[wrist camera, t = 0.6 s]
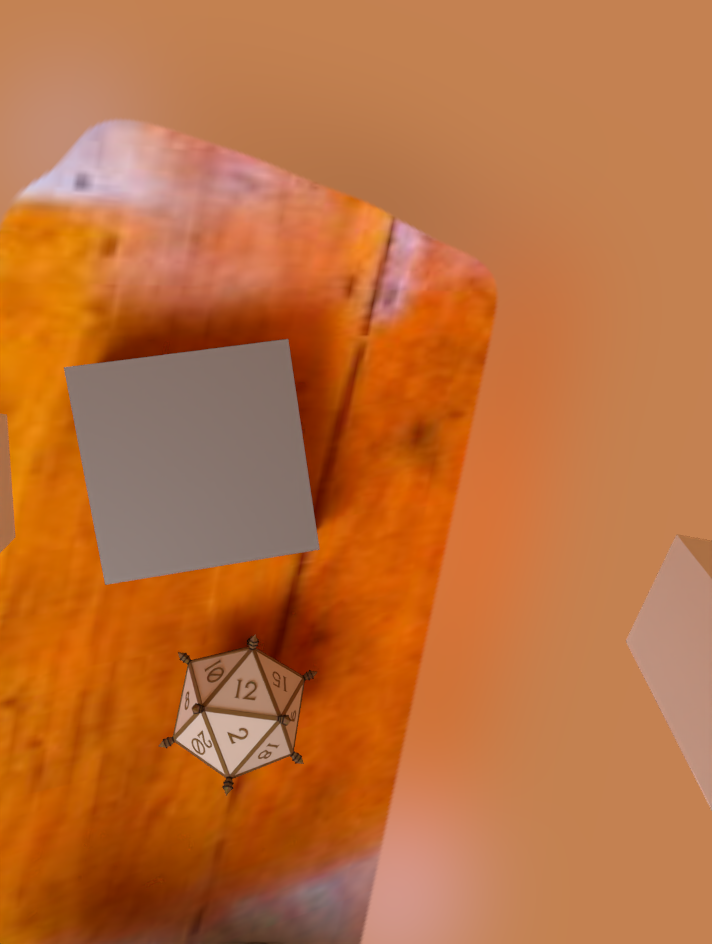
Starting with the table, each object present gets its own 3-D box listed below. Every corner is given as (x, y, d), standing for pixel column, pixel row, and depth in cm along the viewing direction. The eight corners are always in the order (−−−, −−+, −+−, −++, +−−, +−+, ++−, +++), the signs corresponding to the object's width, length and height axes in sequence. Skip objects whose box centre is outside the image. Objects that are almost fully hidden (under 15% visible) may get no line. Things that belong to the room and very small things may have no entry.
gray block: (314, 532, 41) (319, 549, 36) (126, 562, 40) (105, 584, 35) (286, 347, 40) (288, 338, 35) (90, 372, 39) (64, 367, 34)
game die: (252, 683, 46) (230, 836, 38) (157, 631, 42) (110, 791, 34) (346, 639, 42) (341, 800, 34) (251, 576, 38) (221, 744, 30)
